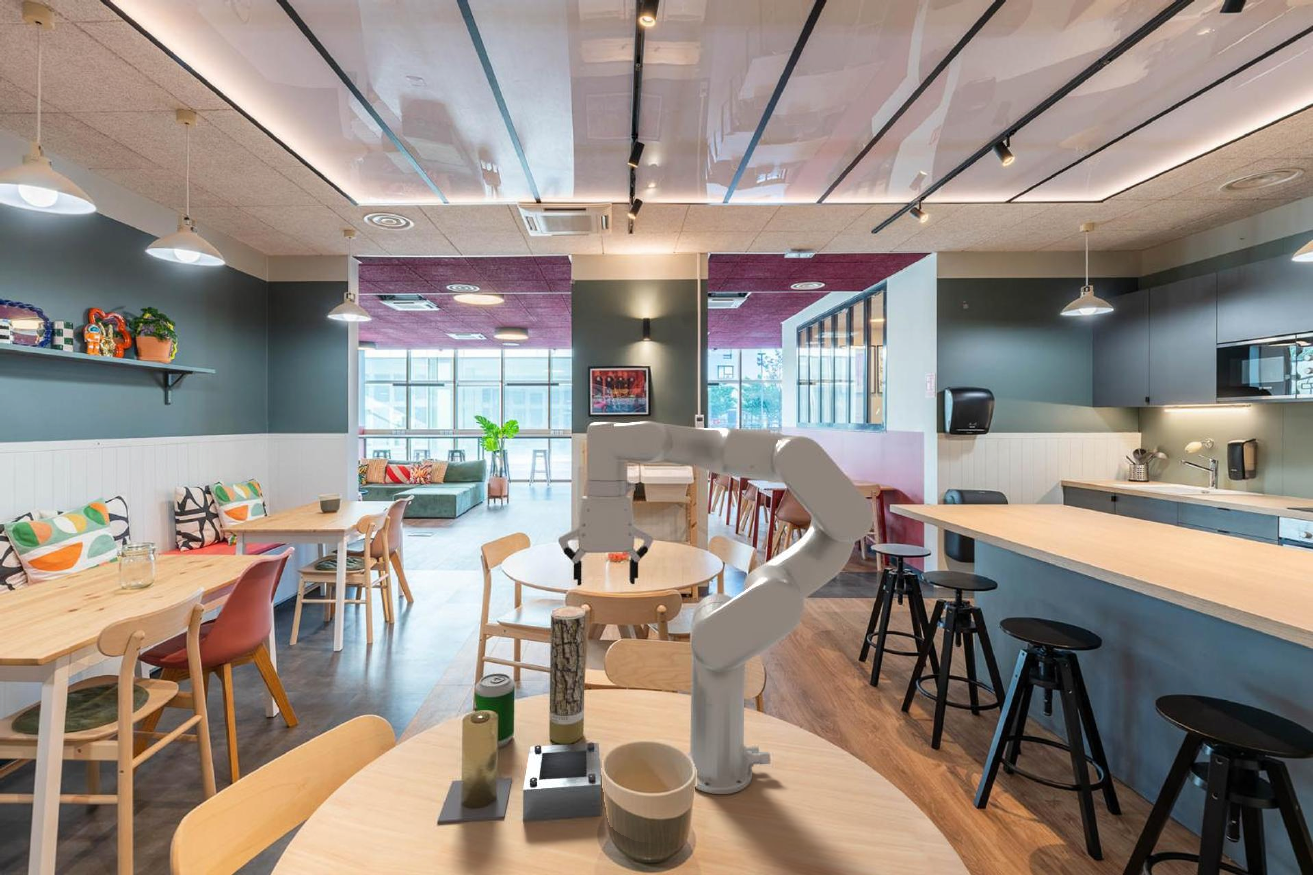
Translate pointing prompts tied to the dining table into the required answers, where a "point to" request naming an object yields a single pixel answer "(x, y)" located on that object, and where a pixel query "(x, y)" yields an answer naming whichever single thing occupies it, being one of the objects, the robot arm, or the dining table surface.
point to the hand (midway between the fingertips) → (605, 582)
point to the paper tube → (567, 674)
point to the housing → (562, 782)
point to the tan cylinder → (479, 759)
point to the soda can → (498, 702)
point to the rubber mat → (459, 813)
